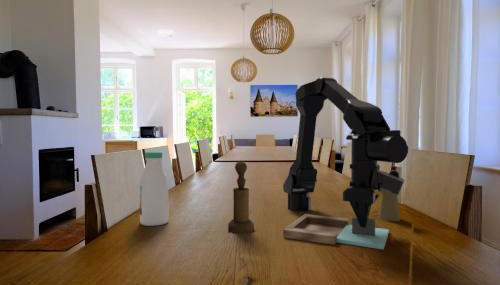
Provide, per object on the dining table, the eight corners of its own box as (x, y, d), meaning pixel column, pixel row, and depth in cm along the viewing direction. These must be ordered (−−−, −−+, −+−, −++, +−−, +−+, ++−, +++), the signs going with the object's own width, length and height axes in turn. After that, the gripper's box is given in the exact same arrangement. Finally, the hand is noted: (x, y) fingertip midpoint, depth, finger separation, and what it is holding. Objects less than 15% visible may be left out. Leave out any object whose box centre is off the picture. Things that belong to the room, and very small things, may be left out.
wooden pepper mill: (257, 229, 88) (257, 161, 87) (249, 237, 81) (249, 163, 81) (233, 227, 90) (233, 160, 89) (224, 234, 84) (223, 162, 83)
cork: (403, 224, 92) (403, 185, 92) (379, 223, 94) (380, 184, 93) (398, 219, 98) (398, 181, 98) (376, 218, 99) (376, 181, 99)
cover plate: (335, 242, 75) (335, 222, 75) (347, 227, 87) (347, 210, 87) (383, 249, 71) (384, 228, 70) (388, 232, 83) (389, 214, 82)
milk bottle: (174, 221, 96) (173, 151, 96) (156, 227, 89) (155, 152, 89) (153, 218, 100) (152, 150, 99) (133, 224, 93) (133, 152, 92)
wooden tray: (283, 240, 79) (283, 229, 79) (304, 223, 94) (304, 213, 94) (334, 248, 74) (334, 236, 73) (348, 228, 89) (348, 218, 89)
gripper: (399, 164, 66) (399, 242, 67) (403, 158, 83) (403, 220, 83) (342, 162, 71) (342, 235, 72) (357, 156, 88) (356, 216, 88)
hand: (363, 226), depth 79 cm, fingers closed on cover plate, 2 cm apart
